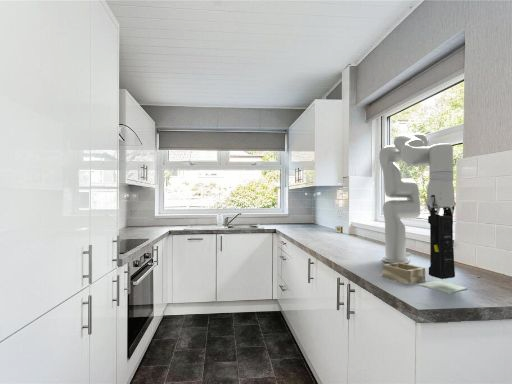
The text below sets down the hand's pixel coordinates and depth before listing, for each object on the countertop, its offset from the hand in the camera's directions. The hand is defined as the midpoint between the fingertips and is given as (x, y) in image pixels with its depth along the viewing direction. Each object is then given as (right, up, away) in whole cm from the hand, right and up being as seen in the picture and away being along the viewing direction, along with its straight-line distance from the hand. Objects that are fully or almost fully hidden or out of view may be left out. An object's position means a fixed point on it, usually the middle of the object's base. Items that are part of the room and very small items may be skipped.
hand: (441, 224), depth 109 cm
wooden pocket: (-9, -23, +11) cm, 27 cm away
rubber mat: (0, -23, 0) cm, 23 cm away
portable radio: (-1, -20, -1) cm, 20 cm away
